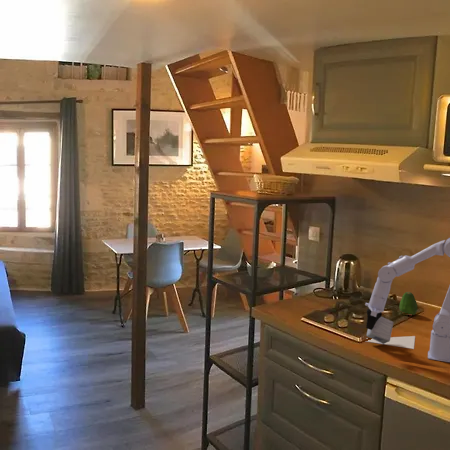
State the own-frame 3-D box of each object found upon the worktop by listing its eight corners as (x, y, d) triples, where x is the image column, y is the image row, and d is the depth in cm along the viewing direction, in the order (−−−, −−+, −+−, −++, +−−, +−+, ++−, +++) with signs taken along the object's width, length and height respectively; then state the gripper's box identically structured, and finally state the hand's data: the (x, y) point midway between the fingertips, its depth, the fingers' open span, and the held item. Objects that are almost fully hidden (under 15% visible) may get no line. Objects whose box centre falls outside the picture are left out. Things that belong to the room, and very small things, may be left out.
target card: (415, 334, 210) (415, 333, 210) (413, 349, 192) (413, 348, 192) (365, 326, 217) (365, 326, 217) (359, 340, 199) (360, 340, 199)
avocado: (395, 315, 238) (397, 290, 236) (407, 314, 241) (410, 289, 239) (407, 320, 230) (409, 294, 229) (420, 319, 233) (422, 293, 232)
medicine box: (384, 344, 196) (387, 324, 200) (390, 341, 192) (393, 321, 196) (365, 336, 195) (369, 316, 200) (371, 333, 191) (375, 313, 196)
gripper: (370, 288, 199) (360, 320, 202) (367, 296, 186) (356, 330, 188) (388, 294, 197) (378, 326, 199) (386, 303, 183) (375, 337, 186)
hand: (369, 328), depth 194 cm, fingers closed, pressing on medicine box
